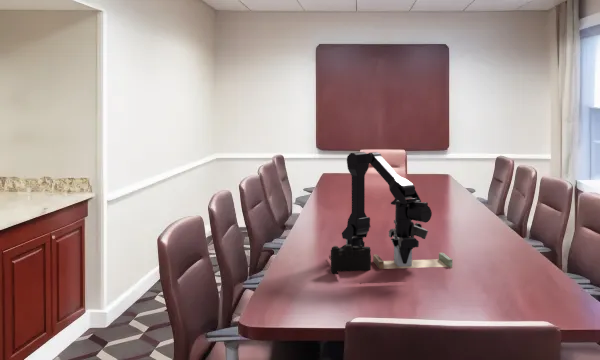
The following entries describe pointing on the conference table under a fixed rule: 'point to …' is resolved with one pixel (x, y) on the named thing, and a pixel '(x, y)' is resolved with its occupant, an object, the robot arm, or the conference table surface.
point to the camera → (350, 258)
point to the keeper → (398, 258)
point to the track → (415, 262)
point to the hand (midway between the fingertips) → (402, 261)
